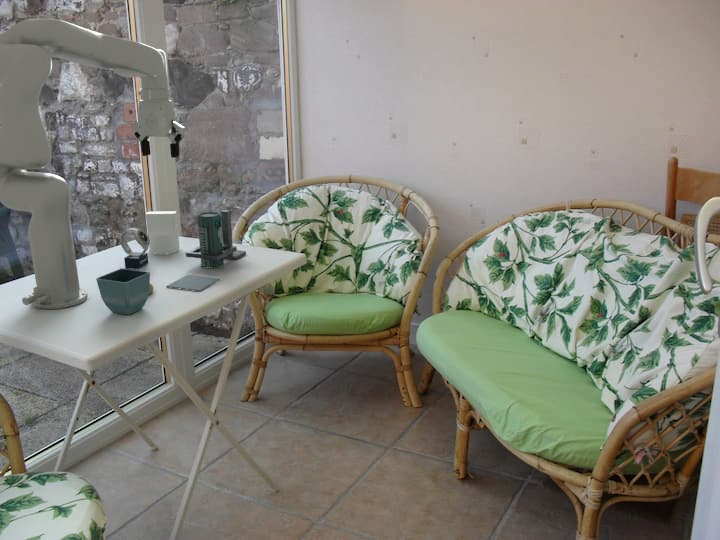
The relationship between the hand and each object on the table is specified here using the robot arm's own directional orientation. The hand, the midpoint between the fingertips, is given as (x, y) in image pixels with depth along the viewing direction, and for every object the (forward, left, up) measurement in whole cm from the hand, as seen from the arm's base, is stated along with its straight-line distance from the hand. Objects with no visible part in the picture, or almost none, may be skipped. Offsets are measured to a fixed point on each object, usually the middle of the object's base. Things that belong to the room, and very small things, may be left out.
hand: (160, 156), depth 191 cm
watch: (-12, +2, -30) cm, 33 cm away
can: (-4, -18, -30) cm, 35 cm away
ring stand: (-1, -18, -30) cm, 35 cm away
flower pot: (-42, -18, -30) cm, 55 cm away
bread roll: (-31, -12, -30) cm, 45 cm away
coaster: (-20, -22, -30) cm, 42 cm away
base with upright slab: (+4, +4, -30) cm, 31 cm away
